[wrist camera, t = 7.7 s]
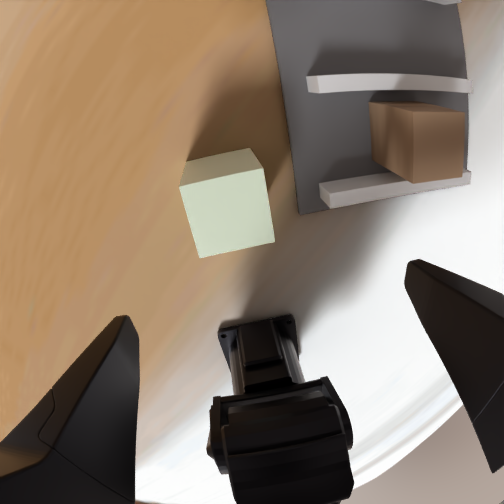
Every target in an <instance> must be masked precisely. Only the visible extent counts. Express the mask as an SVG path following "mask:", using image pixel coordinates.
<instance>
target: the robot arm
mask: <svg viewBox="0 0 504 504" xmlns="http://www.w3.org/2000/svg"><path fill="white" fill-rule="evenodd" d="M404 285H405V289H406V291H407V293H408V295H409V297H410V299H411V302H412V304H413V306H414V308H415V310H416V313H417V315H418V317H419V319H420V321H421V323H422V325H423V327H424V329H425V331H426V333H427V334H428V336H429V338H430V340H431V342H432V343H433V345H434V347H435V349H436V351H437V353H438V354H439V356H440V358H441V360H442V362H443V364H444V366H445V368H446V370H447V372H448V374H449V376H450V378H451V380H452V382H453V384H454V386H455V388H456V390H457V392H458V394H459V396H460V398H461V400H462V402H463V404H464V407H465V409H466V411H467V413H468V415H469V418H470V420H471V422H472V424H473V427H474V429H475V432H476V434H477V436H478V439H479V441H480V444H481V446H482V449H483V451H484V454H485V456H486V459H487V462H488V464H489V467H490V470H491V472H492V473H495V472H496V471H497V470H499V469H500V468H501V467H503V466H504V295H503V294H502V293H499V292H497V291H495V290H493V289H490V288H488V287H486V286H483V285H481V284H479V283H476V282H474V281H472V280H469V279H467V278H465V277H462V276H460V275H458V274H455V273H453V272H450V271H448V270H445V269H443V268H441V267H438V266H436V265H433V264H431V263H428V262H426V261H423V260H421V259H416V260H412V261H410V262H408V264H407V269H406V275H405V280H404ZM288 320H290V321H288ZM222 334H225V335H222ZM218 339H219V342H220V345H221V347H222V350H223V353H224V355H225V358H226V361H227V364H228V366H229V369H230V372H231V376H232V384H233V392H234V395H231V396H224V397H221V396H215V397H213V405H211V409H210V410H209V412H210V432H209V437H208V443H207V448H206V449H207V454H208V455H209V456H210V457H211V458H213V459H214V460H215V463H216V465H217V466H218V469H219V471H220V473H221V474H229V478H230V483H231V487H232V492H233V496H234V499H235V501H236V503H237V504H340V502H341V500H344V499H348V498H349V497H350V495H351V492H352V489H353V486H354V480H353V476H352V472H351V467H350V461H349V454H348V450H349V449H351V448H352V446H353V432H352V426H351V422H350V419H349V416H348V413H347V410H346V408H345V406H344V405H343V403H342V401H341V399H340V398H339V396H338V394H337V392H336V391H335V389H334V387H333V385H332V383H331V382H330V380H329V378H328V376H325V377H321V378H320V379H317V380H313V381H308V382H305V379H304V376H303V373H302V370H301V367H300V364H299V354H298V344H297V335H296V325H295V319H294V317H293V315H290V314H289V315H284V316H279V317H275V318H271V319H266V320H261V321H257V322H252V323H247V324H243V325H238V326H233V327H228V328H223V329H220V330H219V331H218ZM139 386H140V366H139V336H138V333H137V331H136V329H135V327H134V325H133V323H132V321H131V319H130V317H129V316H128V315H122V316H116V317H115V318H114V319H113V320H112V321H111V322H110V323H109V324H108V325H107V326H106V327H105V328H104V330H103V331H102V332H101V333H100V334H99V335H98V336H97V337H96V338H95V339H94V340H93V342H92V343H91V344H90V345H89V346H88V347H87V348H86V349H85V350H84V351H83V353H82V354H81V355H80V356H79V357H78V358H77V359H76V360H75V361H74V363H73V364H72V365H71V366H70V367H69V368H68V369H67V371H66V372H65V373H64V374H63V375H62V376H61V377H60V379H59V380H58V381H57V382H56V383H55V384H54V385H53V387H52V389H50V390H49V391H48V392H47V394H46V395H45V396H44V397H43V398H42V399H41V400H40V402H39V403H38V404H37V405H36V406H35V407H34V408H33V409H32V410H31V411H30V413H29V414H28V415H27V416H26V417H25V418H24V419H23V420H22V421H21V422H20V423H19V424H18V425H17V426H16V427H15V428H14V429H13V430H12V431H11V432H10V433H9V434H8V435H7V436H6V437H5V438H4V439H3V440H2V441H1V442H0V504H135V455H136V430H137V413H138V399H139ZM500 504H504V501H502V502H501V503H500Z"/></svg>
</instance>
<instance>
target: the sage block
mask: <svg viewBox="0 0 504 504" xmlns="http://www.w3.org/2000/svg"><path fill="white" fill-rule="evenodd" d="M179 188H180V192H181V196H182V199H183V203H184V206H185V210H186V213H187V217H188V220H189V224H190V227H191V231H192V234H193V237H194V241H195V244H196V247H197V251H198V254H199V257H200V258H203V257H208V256H212V255H217V254H221V253H226V252H231V251H235V250H240V249H244V248H249V247H254V246H258V245H263V244H267V243H272V242H275V238H274V231H273V225H272V219H271V212H270V206H269V200H268V194H267V188H266V182H265V176H264V170H263V167H262V166H261V164H260V162H259V161H258V159H257V158H256V156H255V155H254V153H253V152H252V150H251V149H250V148H246V149H241V150H236V151H231V152H226V153H222V154H217V155H213V156H208V157H204V158H200V159H195V160H191V161H187V162H186V163H185V167H184V170H183V174H182V178H181V181H180V185H179Z"/></svg>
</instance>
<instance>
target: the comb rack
mask: <svg viewBox="0 0 504 504" xmlns="http://www.w3.org/2000/svg"><path fill="white" fill-rule="evenodd" d="M457 3H462V2H461V0H266V5H267V10H268V15H269V20H270V25H271V30H272V36H273V41H274V46H275V52H276V58H277V63H278V69H279V75H280V81H281V87H282V93H283V100H284V106H285V113H286V119H287V126H288V133H289V140H290V147H291V155H292V162H293V170H294V178H295V186H296V195H297V203H298V212H299V214H300V215H303V214H308V213H313V212H318V211H323V210H328V209H333V208H338V207H344V206H349V205H354V204H360V203H365V202H370V201H376V200H381V199H387V198H392V197H398V196H403V195H409V194H415V193H420V192H426V191H432V190H438V189H444V188H450V187H456V186H462V185H468V184H470V180H471V171H469V170H467V157H468V93H473V85H472V80H468V79H467V72H466V61H465V51H464V43H463V36H462V30H461V24H460V18H459V12H458V7H457ZM381 101H418V102H423V103H428V104H432V105H437V106H441V107H445V108H449V109H453V110H457V111H461V112H465V142H464V162H463V175H462V177H460V178H452V179H445V180H438V181H431V182H423V183H417V184H412V183H410V182H409V181H407V180H405V179H404V178H402V177H400V176H399V175H397V174H395V173H394V172H392V171H390V170H389V169H387V168H385V167H383V166H382V165H380V164H378V163H376V162H375V161H373V160H372V153H371V131H370V116H369V103H368V102H381Z"/></svg>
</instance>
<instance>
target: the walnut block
mask: <svg viewBox="0 0 504 504" xmlns="http://www.w3.org/2000/svg"><path fill="white" fill-rule="evenodd" d="M368 103H369V116H370V131H371V153H372V160H373V161H375V162H376V163H378V164H380V165H382V166H383V167H385V168H387V169H389V170H390V171H392V172H394V173H395V174H397V175H399V176H400V177H402V178H404V179H405V180H407V181H409V182H410V183H412V184H417V183H423V182H431V181H438V180H445V179H452V178H460V177H462V175H463V162H464V142H465V112H461V111H457V110H453V109H449V108H445V107H441V106H437V105H432V104H428V103H423V102H418V101H381V102H368Z"/></svg>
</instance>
